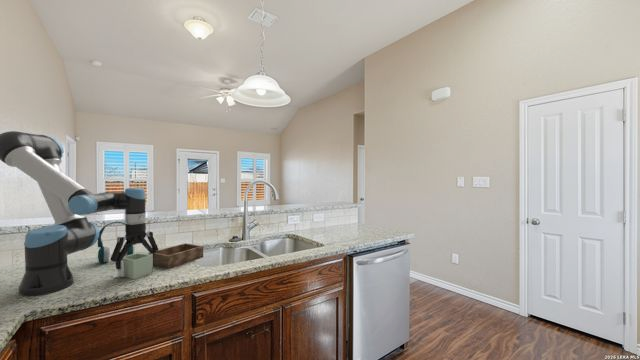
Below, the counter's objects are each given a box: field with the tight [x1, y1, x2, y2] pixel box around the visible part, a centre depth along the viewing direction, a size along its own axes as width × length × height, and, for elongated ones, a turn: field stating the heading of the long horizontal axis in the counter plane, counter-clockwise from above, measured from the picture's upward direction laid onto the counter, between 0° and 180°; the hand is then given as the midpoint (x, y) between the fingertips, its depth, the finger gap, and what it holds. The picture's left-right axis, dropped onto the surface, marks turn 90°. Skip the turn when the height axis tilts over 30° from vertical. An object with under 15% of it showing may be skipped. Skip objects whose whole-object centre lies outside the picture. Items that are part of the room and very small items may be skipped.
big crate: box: [153, 243, 204, 270], centre depth 140 cm, size 20×14×6 cm
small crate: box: [121, 252, 153, 280], centre depth 121 cm, size 8×10×8 cm
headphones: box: [96, 221, 135, 264], centre depth 140 cm, size 8×15×20 cm, turn 124°
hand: (136, 271), depth 121 cm, fingers open, 12 cm apart
